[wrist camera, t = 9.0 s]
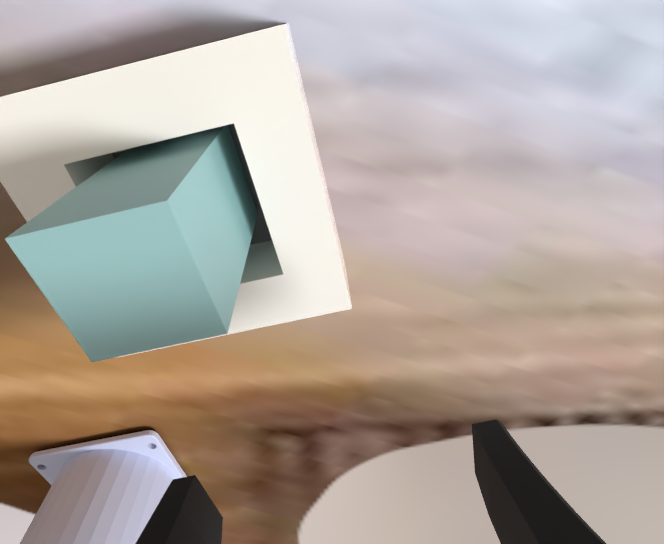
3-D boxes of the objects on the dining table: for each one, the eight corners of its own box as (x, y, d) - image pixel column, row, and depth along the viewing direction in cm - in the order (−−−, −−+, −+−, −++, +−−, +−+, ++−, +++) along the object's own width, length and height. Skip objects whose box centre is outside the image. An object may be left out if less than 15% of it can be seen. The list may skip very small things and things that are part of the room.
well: (345, 264, 20) (351, 308, 17) (144, 307, 20) (115, 357, 17) (288, 23, 15) (283, 24, 12) (22, 91, 15) (-48, 108, 12)
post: (257, 212, 18) (227, 333, 11) (173, 232, 18) (91, 362, 11) (227, 122, 16) (166, 200, 9) (132, 145, 16) (4, 238, 9)
